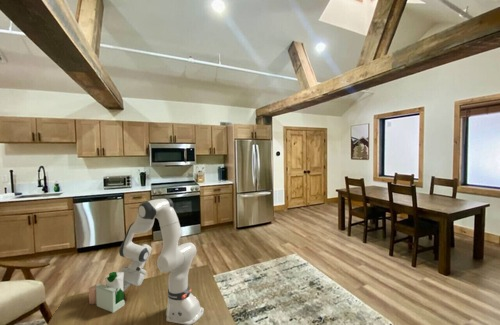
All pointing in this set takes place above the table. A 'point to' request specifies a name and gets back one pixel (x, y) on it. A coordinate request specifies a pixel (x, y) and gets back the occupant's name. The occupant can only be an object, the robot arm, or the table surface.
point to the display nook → (107, 298)
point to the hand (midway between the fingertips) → (122, 290)
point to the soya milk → (116, 284)
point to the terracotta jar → (92, 295)
